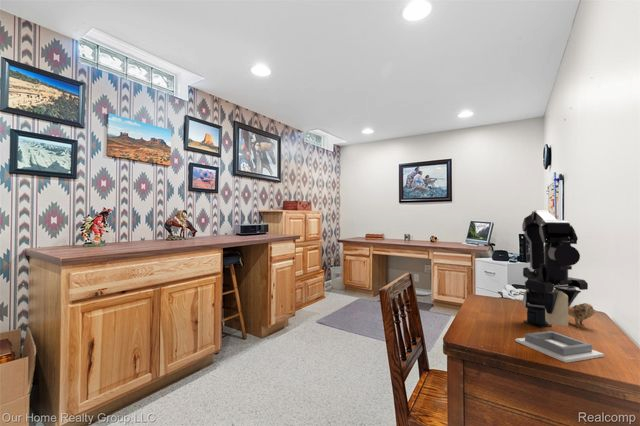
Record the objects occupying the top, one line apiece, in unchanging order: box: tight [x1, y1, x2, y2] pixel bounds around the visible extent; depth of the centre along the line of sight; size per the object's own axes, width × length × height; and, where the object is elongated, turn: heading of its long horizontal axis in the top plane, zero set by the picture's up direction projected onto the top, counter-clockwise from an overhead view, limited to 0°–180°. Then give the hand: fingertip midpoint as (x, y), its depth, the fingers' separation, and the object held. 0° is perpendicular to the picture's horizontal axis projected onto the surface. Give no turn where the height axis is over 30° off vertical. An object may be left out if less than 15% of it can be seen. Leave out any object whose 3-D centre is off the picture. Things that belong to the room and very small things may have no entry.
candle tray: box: [515, 330, 604, 364], centre depth 90 cm, size 15×15×3 cm
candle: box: [545, 288, 569, 327], centre depth 90 cm, size 6×6×10 cm
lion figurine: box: [568, 302, 597, 328], centre depth 114 cm, size 15×5×9 cm, turn 14°
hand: (556, 312), depth 90 cm, fingers closed on candle, 5 cm apart
